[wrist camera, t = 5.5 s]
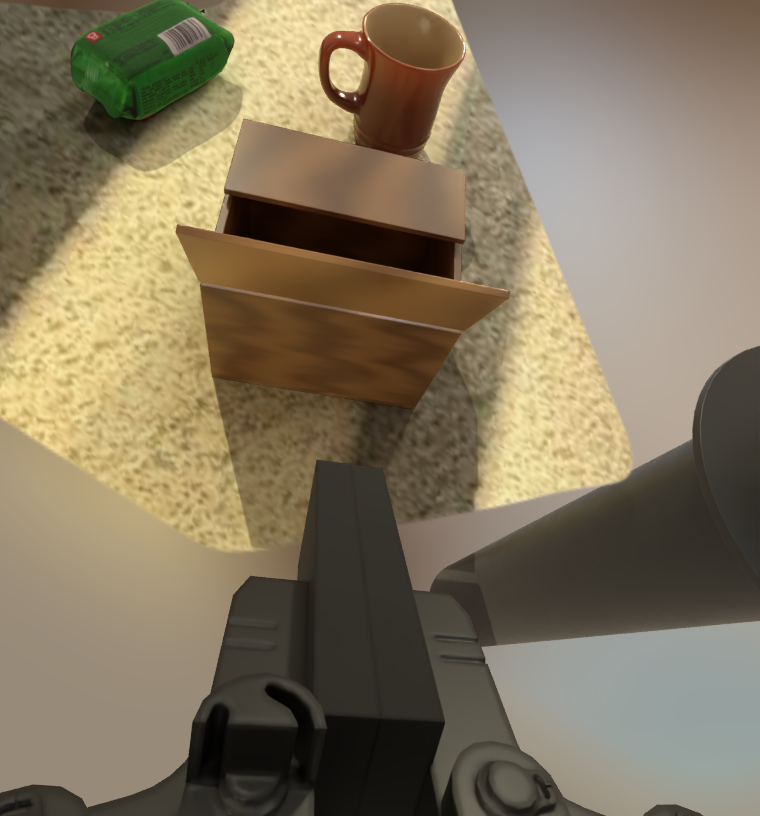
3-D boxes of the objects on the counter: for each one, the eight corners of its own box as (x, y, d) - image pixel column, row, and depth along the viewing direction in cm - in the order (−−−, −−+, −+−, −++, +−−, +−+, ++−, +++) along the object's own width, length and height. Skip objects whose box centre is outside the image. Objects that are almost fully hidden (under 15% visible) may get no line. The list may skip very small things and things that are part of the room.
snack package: (249, 72, 53) (249, 15, 49) (125, 143, 46) (111, 84, 42) (194, 35, 54) (189, -24, 50) (64, 98, 47) (43, 36, 42)
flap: (510, 290, 25) (509, 299, 25) (465, 324, 31) (464, 331, 31) (176, 223, 23) (175, 232, 23) (200, 274, 29) (198, 281, 29)
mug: (422, 116, 56) (454, 10, 47) (437, 178, 53) (475, 76, 44) (306, 104, 53) (317, -11, 44) (314, 169, 50) (328, 57, 41)
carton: (420, 275, 47) (465, 169, 37) (414, 409, 41) (466, 326, 31) (244, 240, 44) (243, 117, 34) (211, 377, 39) (198, 276, 29)
